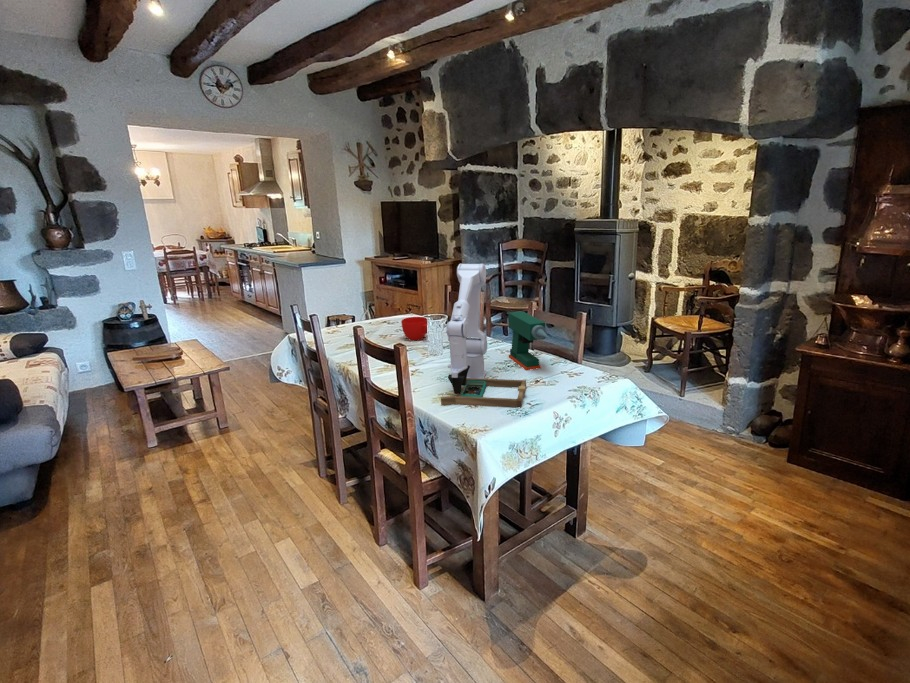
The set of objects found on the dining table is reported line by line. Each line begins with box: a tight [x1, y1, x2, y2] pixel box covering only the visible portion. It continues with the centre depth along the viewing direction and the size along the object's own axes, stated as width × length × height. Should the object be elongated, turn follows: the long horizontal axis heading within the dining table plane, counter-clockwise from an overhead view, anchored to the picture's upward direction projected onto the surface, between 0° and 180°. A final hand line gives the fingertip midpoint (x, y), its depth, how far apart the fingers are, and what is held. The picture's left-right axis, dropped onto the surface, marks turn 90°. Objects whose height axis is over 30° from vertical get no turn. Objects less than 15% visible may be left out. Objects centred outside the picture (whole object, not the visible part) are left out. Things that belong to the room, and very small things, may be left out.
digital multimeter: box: [460, 381, 487, 397], centre depth 177 cm, size 7×15×3 cm, turn 169°
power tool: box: [507, 310, 550, 371], centre depth 198 cm, size 32×7×20 cm, turn 16°
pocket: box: [440, 378, 527, 409], centre depth 175 cm, size 22×28×3 cm
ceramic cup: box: [400, 316, 428, 341], centre depth 246 cm, size 13×17×10 cm
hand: (460, 389), depth 177 cm, fingers open, 7 cm apart
